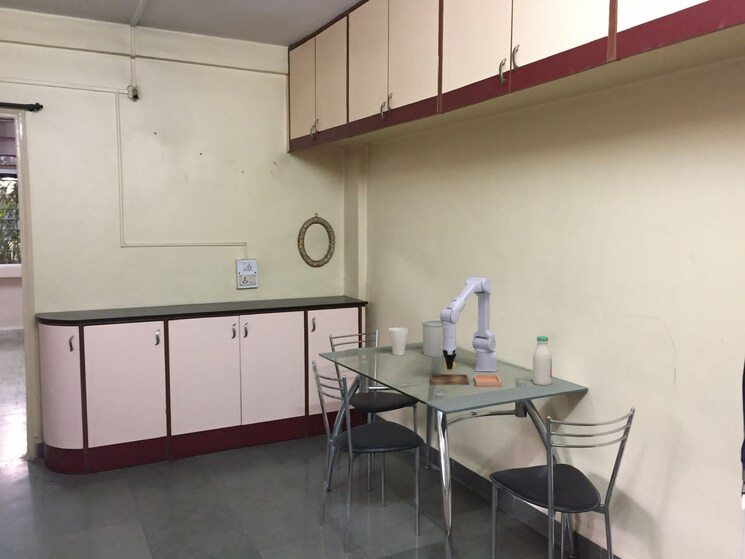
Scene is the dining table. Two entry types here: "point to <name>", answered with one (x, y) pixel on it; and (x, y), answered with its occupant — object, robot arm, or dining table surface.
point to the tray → (449, 379)
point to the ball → (449, 369)
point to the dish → (487, 381)
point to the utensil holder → (432, 337)
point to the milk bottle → (542, 362)
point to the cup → (398, 339)
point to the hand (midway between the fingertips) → (449, 367)
